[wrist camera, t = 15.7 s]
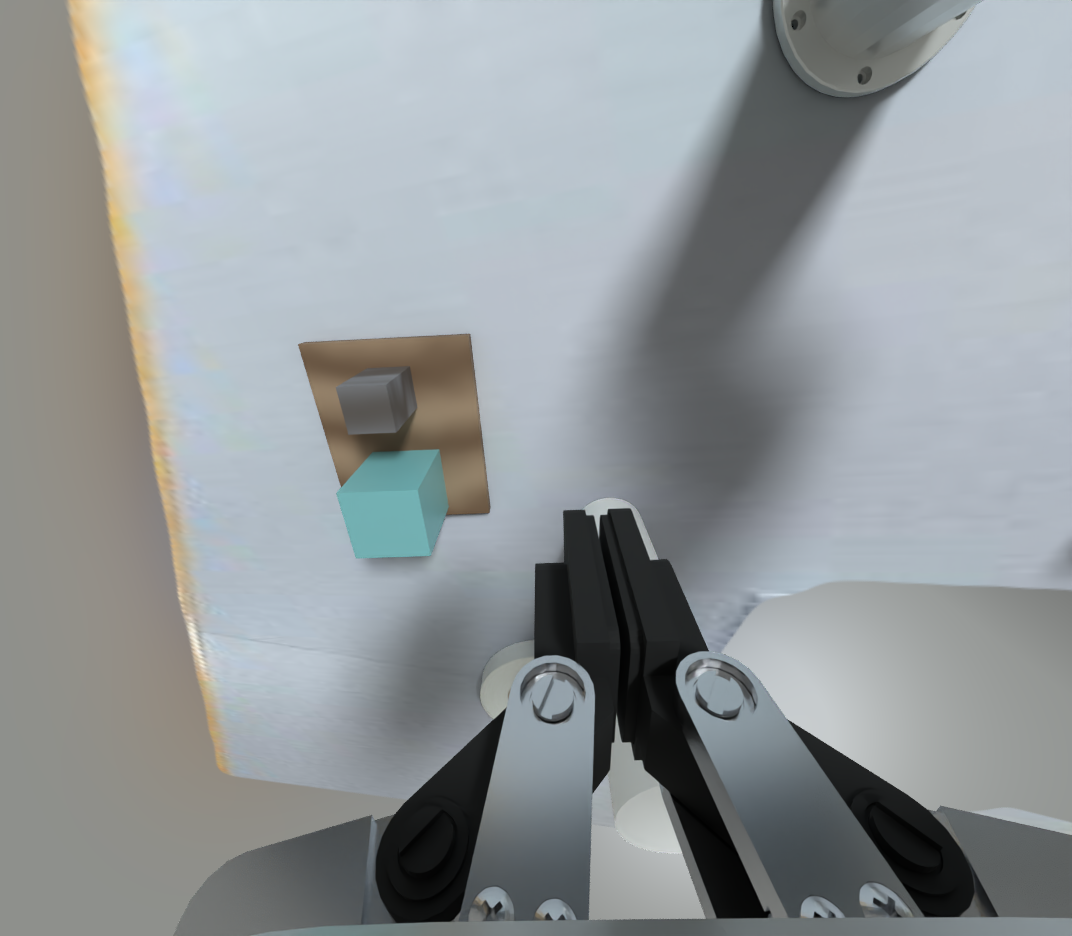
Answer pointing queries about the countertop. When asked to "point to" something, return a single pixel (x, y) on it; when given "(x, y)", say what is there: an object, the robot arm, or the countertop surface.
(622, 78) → the countertop surface
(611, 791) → the cylindrical container
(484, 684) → the roll of tape
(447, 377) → the walnut board
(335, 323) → the countertop surface
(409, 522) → the aqua foam cube
